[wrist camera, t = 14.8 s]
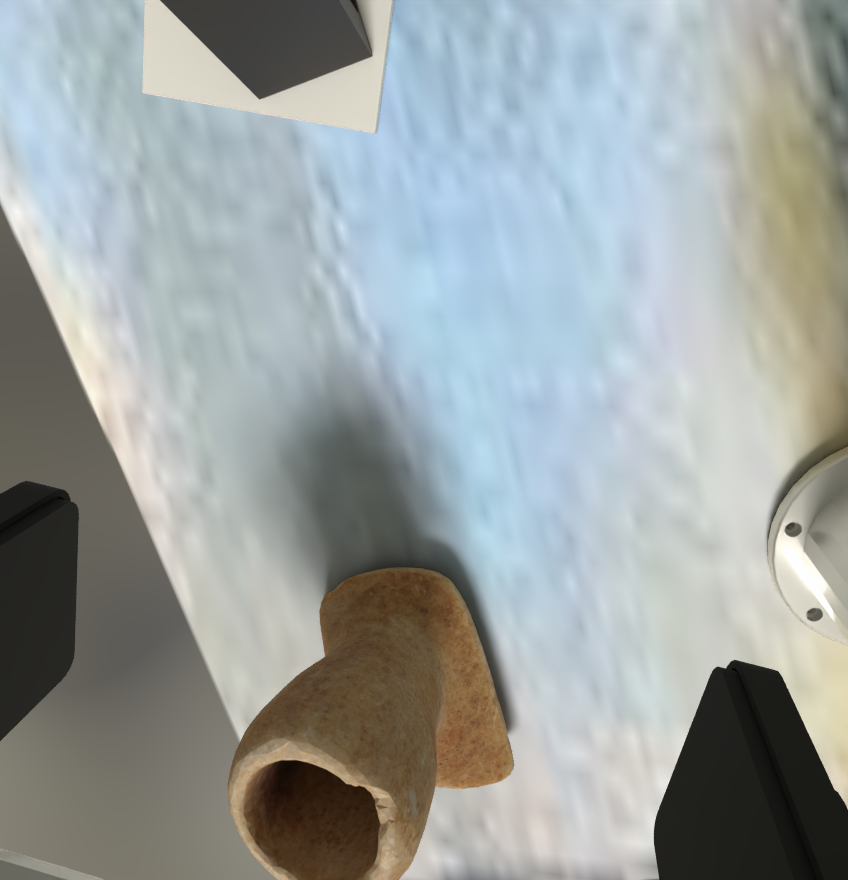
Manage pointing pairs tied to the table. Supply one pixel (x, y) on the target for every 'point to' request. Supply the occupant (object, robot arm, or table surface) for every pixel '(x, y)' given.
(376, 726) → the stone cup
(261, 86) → the phone stand
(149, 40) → the cream mat
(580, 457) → the table surface
